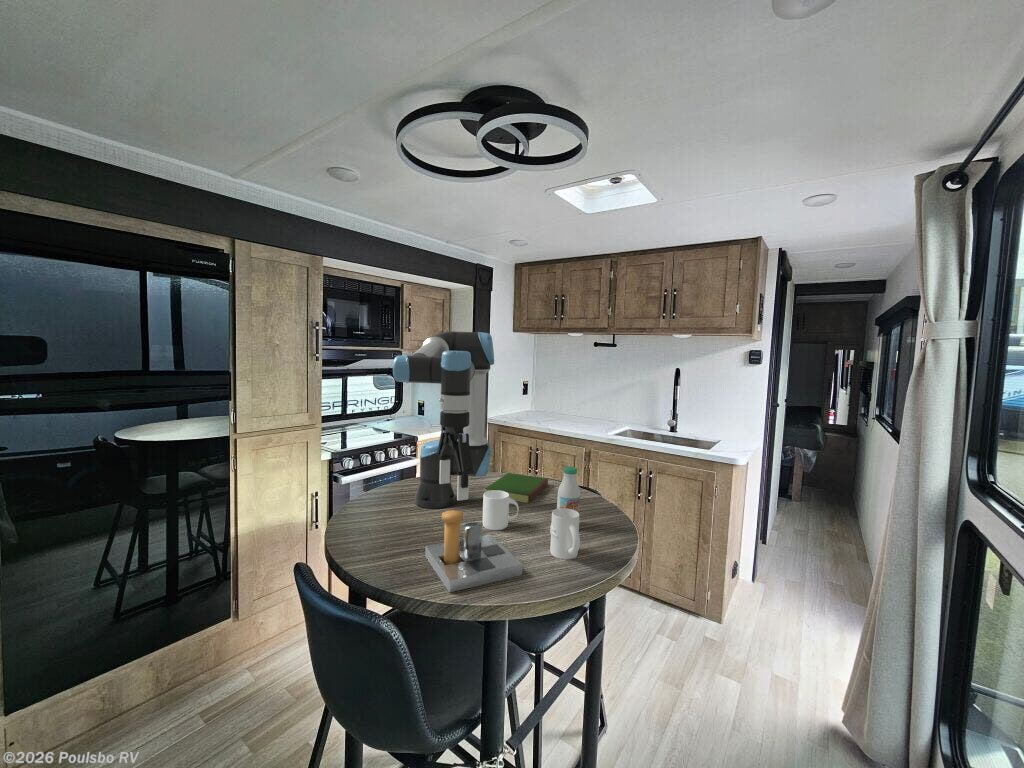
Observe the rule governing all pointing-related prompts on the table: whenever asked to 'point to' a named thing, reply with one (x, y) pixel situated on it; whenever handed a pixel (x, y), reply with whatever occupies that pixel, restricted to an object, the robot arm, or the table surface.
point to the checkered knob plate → (474, 561)
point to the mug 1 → (497, 510)
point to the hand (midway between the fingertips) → (453, 491)
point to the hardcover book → (520, 486)
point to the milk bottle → (569, 490)
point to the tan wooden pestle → (451, 536)
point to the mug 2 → (565, 533)
